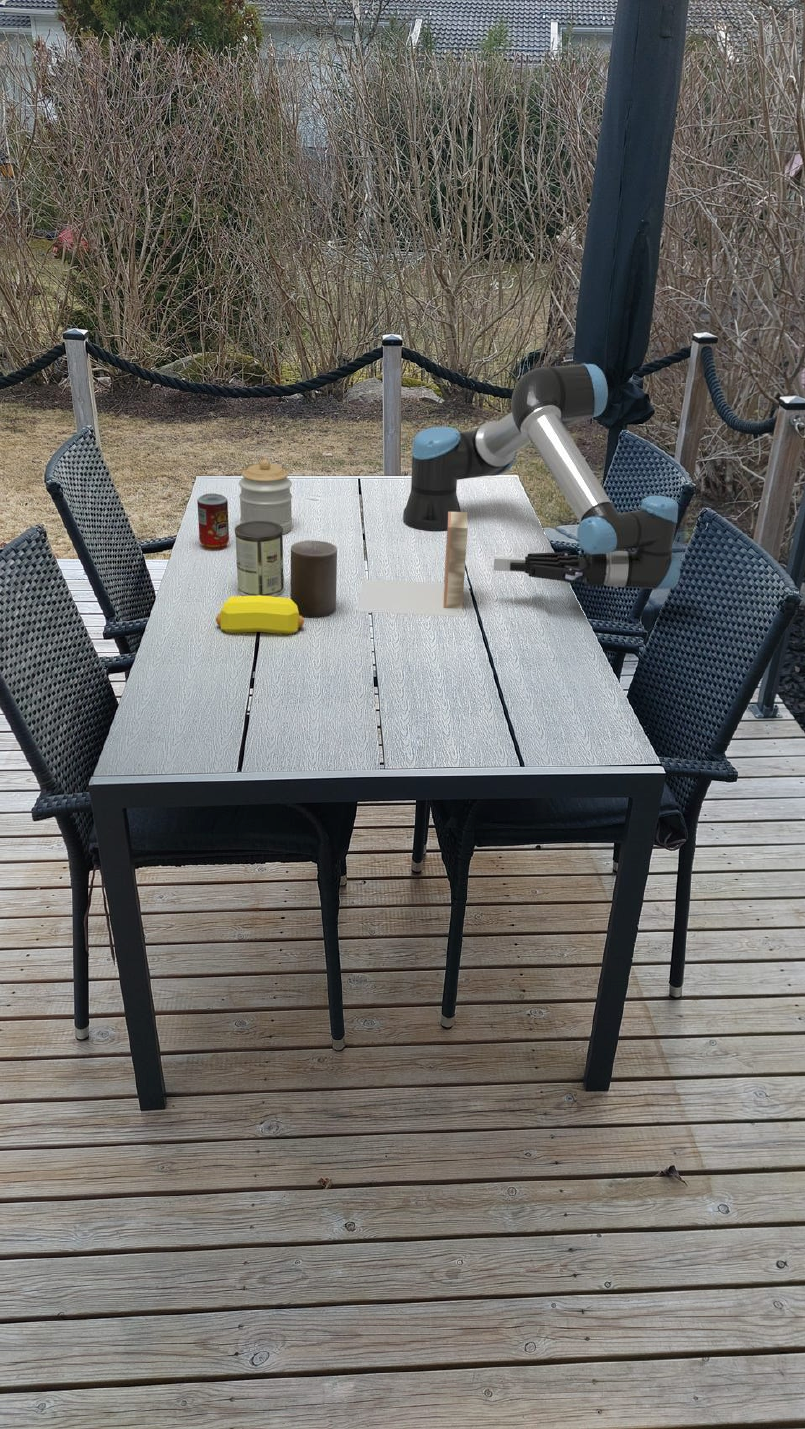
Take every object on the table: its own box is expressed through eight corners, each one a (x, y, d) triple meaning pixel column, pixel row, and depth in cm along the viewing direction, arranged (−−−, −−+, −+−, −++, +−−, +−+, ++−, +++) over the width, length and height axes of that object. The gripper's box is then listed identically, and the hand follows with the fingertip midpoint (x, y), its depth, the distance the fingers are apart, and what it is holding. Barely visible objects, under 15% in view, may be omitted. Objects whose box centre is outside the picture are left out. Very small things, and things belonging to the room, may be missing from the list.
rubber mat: (461, 587, 249) (461, 584, 248) (462, 619, 233) (462, 616, 233) (363, 582, 249) (363, 579, 249) (357, 615, 233) (357, 611, 233)
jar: (302, 527, 280) (302, 458, 271) (270, 541, 270) (269, 470, 262) (262, 516, 286) (260, 449, 277) (229, 530, 276) (226, 460, 268)
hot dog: (218, 620, 229) (213, 635, 222) (216, 590, 226) (211, 605, 219) (305, 622, 230) (303, 638, 223) (305, 592, 226) (303, 607, 220)
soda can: (215, 553, 262) (213, 503, 256) (193, 547, 265) (190, 497, 259) (235, 545, 267) (233, 496, 261) (213, 539, 270) (211, 490, 264)
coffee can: (252, 577, 249) (250, 517, 243) (292, 586, 246) (291, 525, 239) (227, 593, 241) (225, 531, 234) (268, 602, 238) (267, 540, 231)
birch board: (461, 590, 245) (466, 512, 236) (462, 608, 236) (467, 528, 227) (443, 590, 245) (448, 511, 236) (443, 608, 236) (448, 527, 228)
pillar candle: (301, 621, 230) (301, 552, 222) (283, 603, 237) (283, 536, 230) (343, 614, 234) (345, 546, 227) (325, 597, 241) (326, 531, 234)
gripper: (606, 596, 232) (493, 591, 232) (599, 573, 243) (491, 568, 244) (611, 563, 228) (496, 557, 229) (603, 541, 240) (494, 536, 240)
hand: (494, 563), depth 236 cm, fingers closed
